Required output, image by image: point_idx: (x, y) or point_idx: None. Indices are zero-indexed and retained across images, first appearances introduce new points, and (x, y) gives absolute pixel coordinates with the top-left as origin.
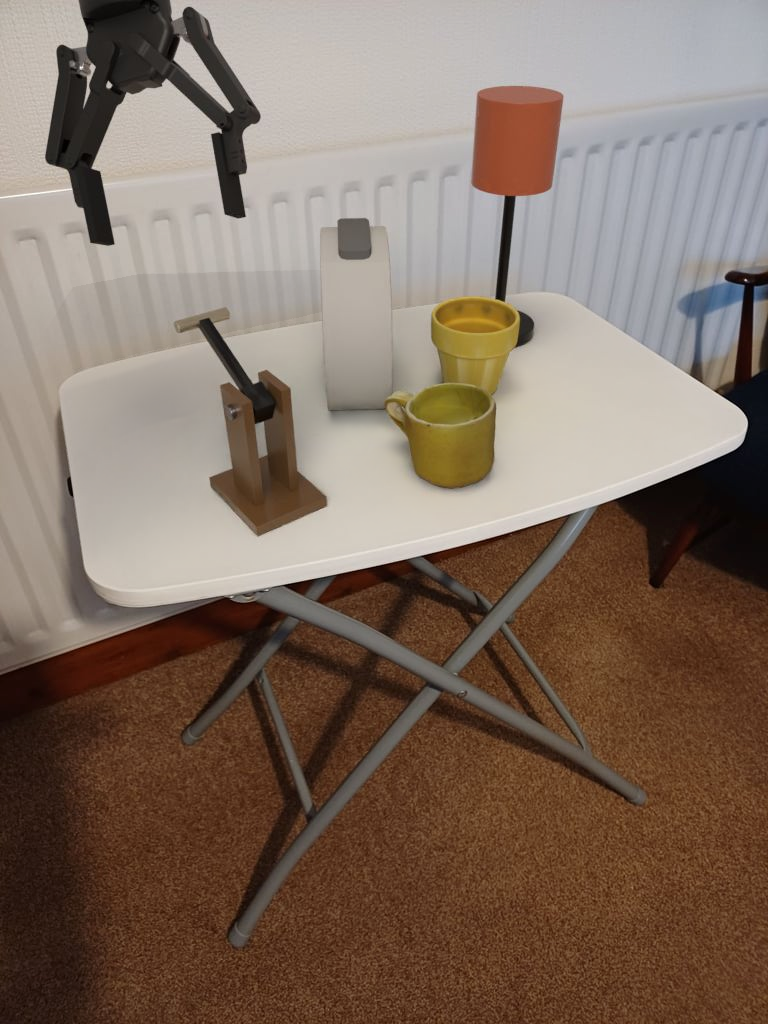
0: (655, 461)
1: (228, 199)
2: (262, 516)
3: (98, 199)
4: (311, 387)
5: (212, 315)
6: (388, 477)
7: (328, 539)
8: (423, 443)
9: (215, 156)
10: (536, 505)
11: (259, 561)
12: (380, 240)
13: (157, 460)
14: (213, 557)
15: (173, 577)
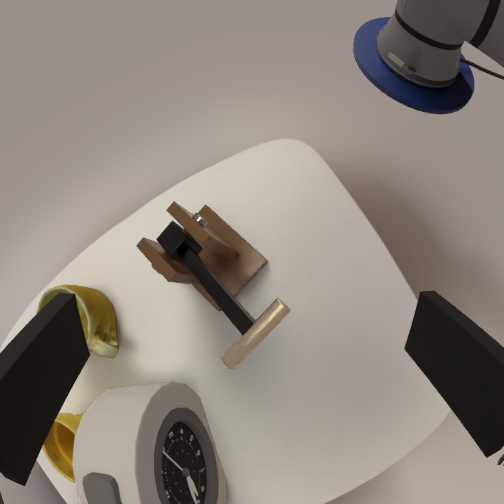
0: (13, 334)
1: (48, 306)
2: (204, 217)
3: (463, 380)
4: (226, 434)
5: (239, 340)
6: (131, 300)
7: (159, 217)
8: (83, 289)
9: (5, 373)
10: (53, 282)
11: (200, 182)
12: (84, 498)
13: (332, 290)
14: (233, 178)
15: (254, 153)
